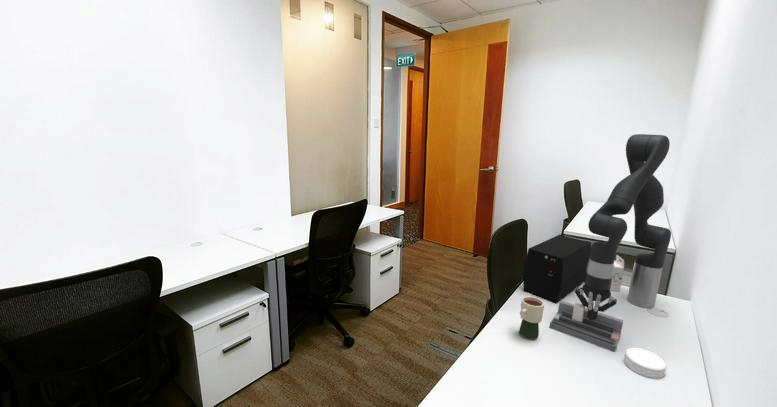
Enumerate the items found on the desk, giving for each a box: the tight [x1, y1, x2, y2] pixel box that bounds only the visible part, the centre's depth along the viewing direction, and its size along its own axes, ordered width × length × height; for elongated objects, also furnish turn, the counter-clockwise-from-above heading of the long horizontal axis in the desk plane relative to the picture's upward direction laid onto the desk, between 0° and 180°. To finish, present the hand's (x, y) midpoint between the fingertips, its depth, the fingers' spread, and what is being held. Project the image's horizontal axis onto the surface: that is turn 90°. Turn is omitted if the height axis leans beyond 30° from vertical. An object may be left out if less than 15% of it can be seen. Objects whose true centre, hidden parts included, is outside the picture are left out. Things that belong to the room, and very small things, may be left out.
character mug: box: [518, 295, 545, 340], centre depth 115 cm, size 11×7×13 cm, turn 123°
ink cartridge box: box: [610, 254, 625, 293], centre depth 152 cm, size 9×5×15 cm, turn 168°
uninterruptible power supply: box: [522, 234, 592, 305], centre depth 151 cm, size 16×34×20 cm, turn 132°
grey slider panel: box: [549, 300, 624, 353], centre depth 118 cm, size 12×20×6 cm, turn 49°
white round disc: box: [623, 347, 667, 379], centre depth 102 cm, size 10×10×4 cm
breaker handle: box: [572, 301, 586, 323], centre depth 119 cm, size 3×3×7 cm
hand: (591, 319), depth 117 cm, fingers closed
